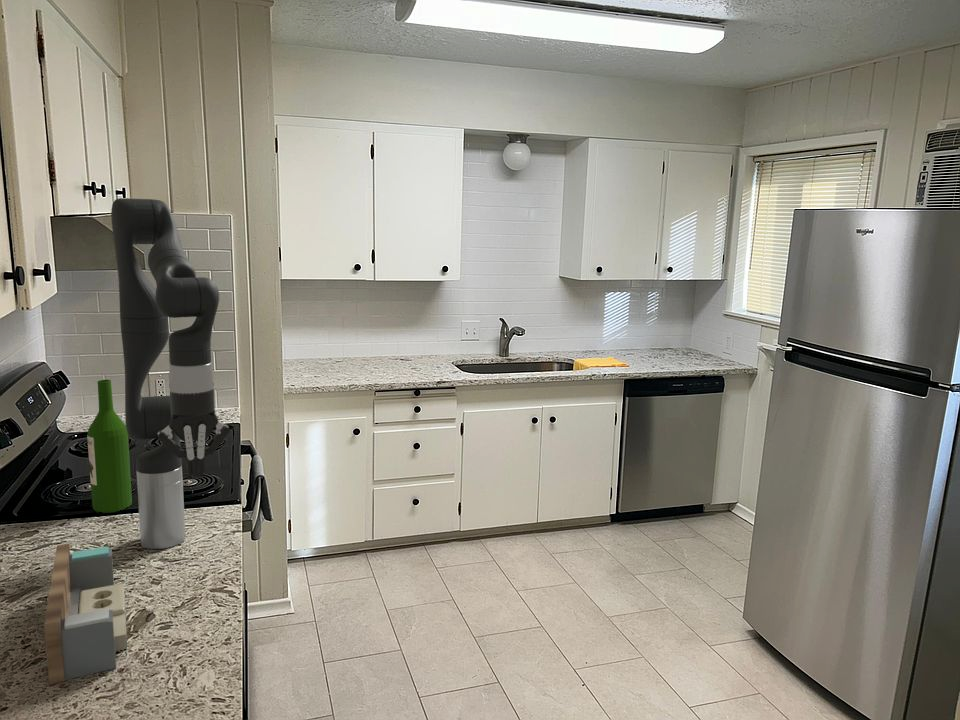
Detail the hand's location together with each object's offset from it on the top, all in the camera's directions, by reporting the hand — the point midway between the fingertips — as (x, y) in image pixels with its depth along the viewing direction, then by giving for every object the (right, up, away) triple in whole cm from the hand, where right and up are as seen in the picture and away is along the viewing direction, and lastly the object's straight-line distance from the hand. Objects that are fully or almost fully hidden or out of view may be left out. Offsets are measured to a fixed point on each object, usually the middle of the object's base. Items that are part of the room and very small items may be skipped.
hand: (196, 476), depth 132 cm
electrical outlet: (-13, -25, -9) cm, 30 cm away
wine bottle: (-40, -15, +47) cm, 63 cm away
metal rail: (-17, -25, -11) cm, 32 cm away
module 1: (-20, -23, +2) cm, 31 cm away
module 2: (-8, -27, -21) cm, 35 cm away
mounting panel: (-18, -25, -11) cm, 33 cm away
